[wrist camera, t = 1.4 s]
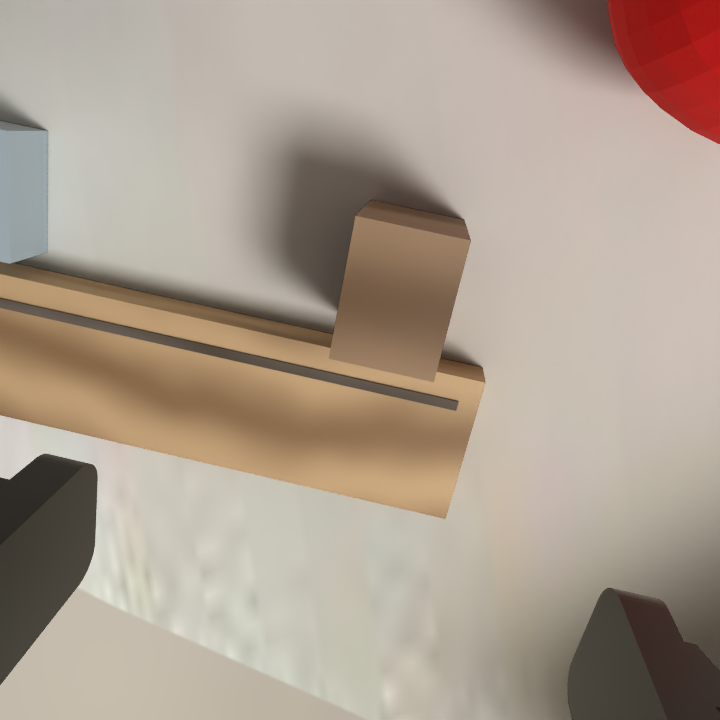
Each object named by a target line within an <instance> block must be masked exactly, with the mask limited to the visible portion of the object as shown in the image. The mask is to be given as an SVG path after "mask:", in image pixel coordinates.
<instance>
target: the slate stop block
mask: <svg viewBox="0 0 720 720" xmlns="http://www.w3.org/2000/svg"><path fill="white" fill-rule="evenodd" d="M47 211H48V131H46V130H41V129H36V128H32V127H27V126H22V125H18V124H13V123H8V122H4V121H0V262H4V263H9V264H11V263H14V262H17V261H20V260H24V259H27V258H30V257H33V256H36V255H40V254H43V253H46V252H47Z"/></svg>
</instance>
